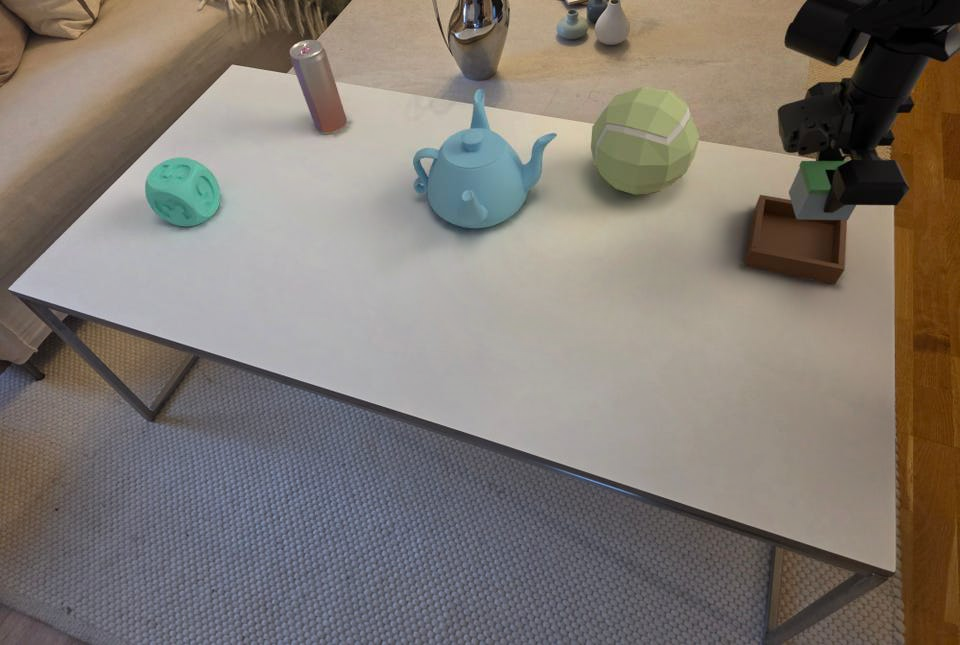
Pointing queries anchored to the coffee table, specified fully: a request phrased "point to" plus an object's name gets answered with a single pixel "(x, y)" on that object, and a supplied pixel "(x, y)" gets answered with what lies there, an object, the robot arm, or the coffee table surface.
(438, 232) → the coffee table surface
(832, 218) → the container
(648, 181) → the tennis ball
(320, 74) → the beverage can
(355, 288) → the coffee table surface
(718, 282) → the coffee table surface
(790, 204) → the tray
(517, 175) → the teapot
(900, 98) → the robot arm
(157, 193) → the decorative dice
